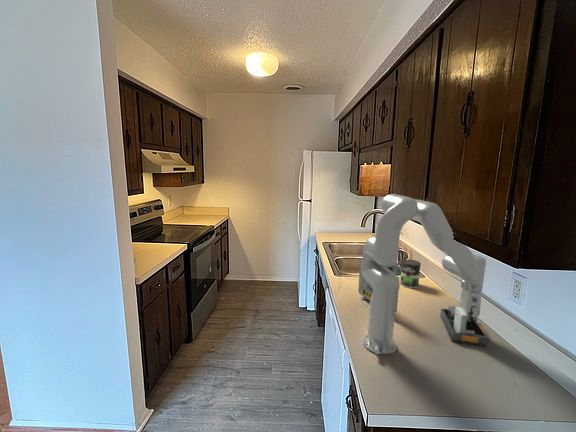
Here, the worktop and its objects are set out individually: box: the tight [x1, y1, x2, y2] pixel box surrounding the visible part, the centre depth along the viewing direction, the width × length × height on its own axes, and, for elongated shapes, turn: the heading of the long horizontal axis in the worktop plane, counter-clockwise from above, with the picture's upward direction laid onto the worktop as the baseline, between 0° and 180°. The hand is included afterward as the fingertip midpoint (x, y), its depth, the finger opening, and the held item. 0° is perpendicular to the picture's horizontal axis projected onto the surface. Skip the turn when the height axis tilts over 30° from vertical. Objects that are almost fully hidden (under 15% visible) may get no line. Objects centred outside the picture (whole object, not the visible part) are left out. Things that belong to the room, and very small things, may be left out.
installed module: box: [447, 305, 457, 320], centre depth 136 cm, size 6×8×6 cm
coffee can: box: [399, 259, 422, 289], centre depth 179 cm, size 10×10×14 cm
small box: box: [453, 306, 475, 335], centre depth 126 cm, size 8×6×10 cm
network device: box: [357, 261, 400, 313], centre depth 151 cm, size 26×9×20 cm, turn 22°
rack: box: [439, 308, 489, 348], centre depth 131 cm, size 22×13×4 cm, turn 165°
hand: (466, 324), depth 126 cm, fingers open, 9 cm apart
